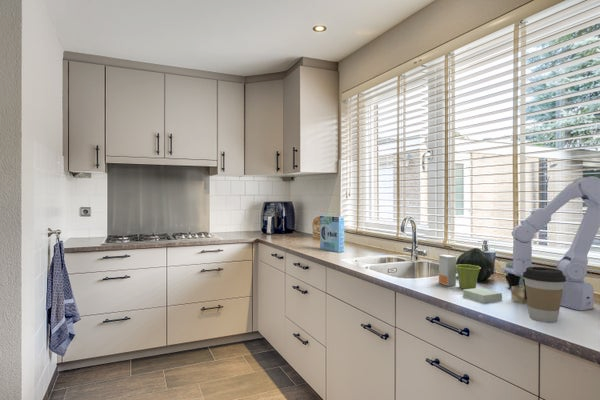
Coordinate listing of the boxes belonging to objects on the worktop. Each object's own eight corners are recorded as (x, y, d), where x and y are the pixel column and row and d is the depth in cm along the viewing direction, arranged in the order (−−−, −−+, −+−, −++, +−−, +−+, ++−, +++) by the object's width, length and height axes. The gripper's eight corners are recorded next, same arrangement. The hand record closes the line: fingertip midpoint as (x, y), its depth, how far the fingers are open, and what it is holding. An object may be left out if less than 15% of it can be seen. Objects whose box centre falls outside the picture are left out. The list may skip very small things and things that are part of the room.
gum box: (344, 252, 251) (344, 216, 251) (338, 252, 248) (338, 216, 248) (325, 248, 267) (325, 215, 267) (319, 249, 264) (319, 215, 264)
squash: (470, 262, 186) (460, 240, 179) (502, 268, 174) (492, 245, 167) (457, 284, 180) (446, 263, 173) (489, 292, 168) (478, 269, 161)
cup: (503, 288, 157) (503, 263, 157) (508, 285, 163) (509, 261, 163) (524, 291, 152) (525, 266, 152) (529, 288, 157) (530, 263, 157)
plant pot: (481, 287, 159) (482, 265, 159) (479, 291, 151) (479, 269, 151) (457, 284, 164) (457, 263, 164) (453, 288, 156) (453, 267, 155)
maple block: (531, 302, 137) (532, 288, 137) (522, 303, 135) (523, 289, 135) (519, 299, 141) (520, 285, 141) (511, 300, 139) (511, 286, 139)
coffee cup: (548, 313, 124) (549, 266, 124) (575, 325, 113) (576, 273, 113) (513, 313, 124) (514, 266, 124) (536, 325, 113) (537, 273, 112)
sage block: (501, 301, 139) (501, 293, 139) (483, 304, 135) (483, 295, 135) (480, 295, 147) (480, 287, 147) (463, 297, 143) (463, 289, 143)
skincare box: (438, 282, 166) (438, 254, 165) (446, 282, 167) (447, 254, 167) (447, 286, 160) (447, 257, 160) (456, 285, 161) (456, 256, 161)
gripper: (496, 256, 143) (495, 293, 143) (534, 263, 129) (533, 303, 130) (509, 255, 146) (509, 291, 146) (548, 261, 132) (547, 301, 132)
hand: (521, 297), depth 138 cm, fingers closed on maple block, 4 cm apart
